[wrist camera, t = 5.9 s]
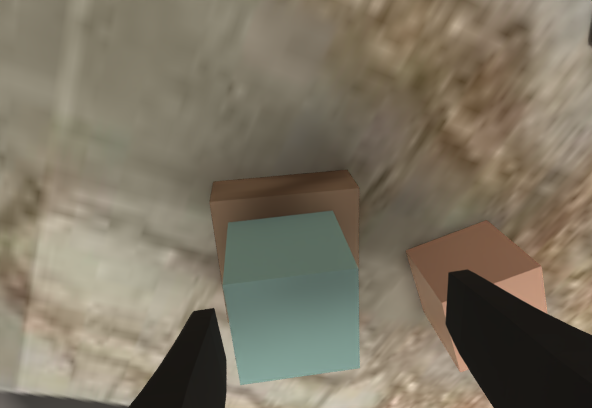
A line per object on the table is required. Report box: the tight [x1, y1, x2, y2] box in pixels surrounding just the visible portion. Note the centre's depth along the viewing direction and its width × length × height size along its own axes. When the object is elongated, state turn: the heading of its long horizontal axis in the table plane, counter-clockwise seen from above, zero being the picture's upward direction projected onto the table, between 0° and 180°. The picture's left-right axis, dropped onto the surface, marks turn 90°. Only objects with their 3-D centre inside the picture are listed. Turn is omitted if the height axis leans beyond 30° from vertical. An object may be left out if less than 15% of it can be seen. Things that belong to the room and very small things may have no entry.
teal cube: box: [223, 211, 360, 385], centre depth 18 cm, size 5×5×5 cm
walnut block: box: [210, 170, 359, 323], centre depth 22 cm, size 7×7×3 cm
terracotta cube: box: [406, 220, 547, 372], centre depth 23 cm, size 5×5×5 cm
